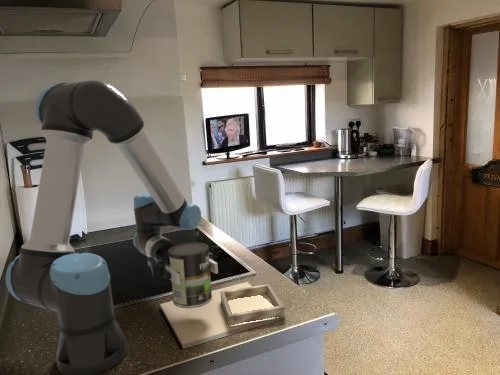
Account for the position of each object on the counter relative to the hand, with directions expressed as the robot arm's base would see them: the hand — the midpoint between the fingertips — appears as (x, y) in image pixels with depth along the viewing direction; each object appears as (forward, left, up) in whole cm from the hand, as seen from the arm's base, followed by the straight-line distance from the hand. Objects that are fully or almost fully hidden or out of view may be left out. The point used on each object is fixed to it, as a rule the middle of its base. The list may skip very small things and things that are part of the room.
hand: (197, 273), depth 105 cm
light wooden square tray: (+14, +3, -14) cm, 20 cm away
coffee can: (-2, +4, -9) cm, 10 cm away
